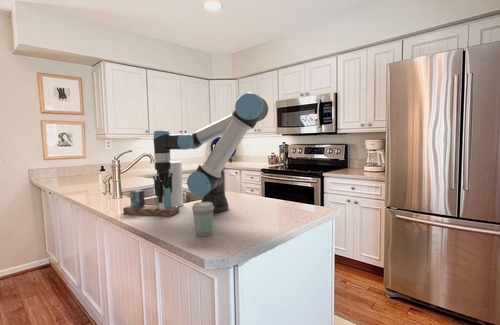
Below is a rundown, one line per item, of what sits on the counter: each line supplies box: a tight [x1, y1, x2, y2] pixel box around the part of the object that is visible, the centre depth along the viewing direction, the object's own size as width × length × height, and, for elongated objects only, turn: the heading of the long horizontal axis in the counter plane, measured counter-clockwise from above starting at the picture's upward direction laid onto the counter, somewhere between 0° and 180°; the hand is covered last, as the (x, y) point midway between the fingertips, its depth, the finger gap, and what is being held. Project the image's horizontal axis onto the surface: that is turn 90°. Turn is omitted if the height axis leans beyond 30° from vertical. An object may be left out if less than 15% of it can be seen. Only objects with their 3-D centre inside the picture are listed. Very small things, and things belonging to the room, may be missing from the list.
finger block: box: [156, 188, 171, 210], centre depth 139 cm, size 6×4×10 cm
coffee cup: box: [191, 201, 214, 238], centre depth 107 cm, size 9×9×12 cm
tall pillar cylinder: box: [169, 160, 184, 207], centre depth 157 cm, size 11×11×25 cm
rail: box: [122, 189, 180, 217], centre depth 141 cm, size 28×7×12 cm, turn 74°
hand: (164, 207), depth 139 cm, fingers closed on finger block, 4 cm apart
